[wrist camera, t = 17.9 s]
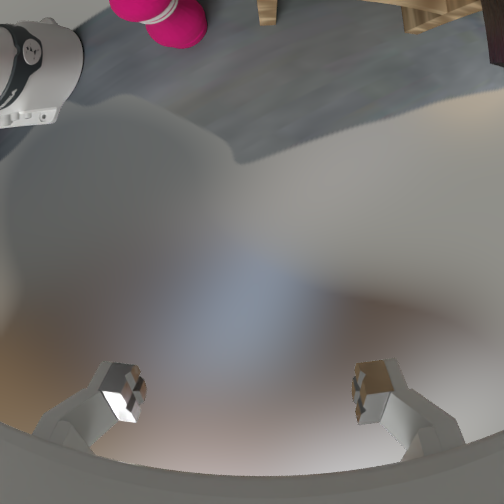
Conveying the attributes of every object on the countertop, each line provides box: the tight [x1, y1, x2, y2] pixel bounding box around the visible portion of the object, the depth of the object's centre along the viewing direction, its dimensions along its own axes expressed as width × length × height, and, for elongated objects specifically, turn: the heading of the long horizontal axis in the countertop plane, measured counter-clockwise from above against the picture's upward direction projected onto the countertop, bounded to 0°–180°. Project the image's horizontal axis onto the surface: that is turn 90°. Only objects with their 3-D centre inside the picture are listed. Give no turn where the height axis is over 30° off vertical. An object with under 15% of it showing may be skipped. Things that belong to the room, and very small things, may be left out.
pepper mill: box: [109, 0, 207, 49], centre depth 25 cm, size 7×7×20 cm
